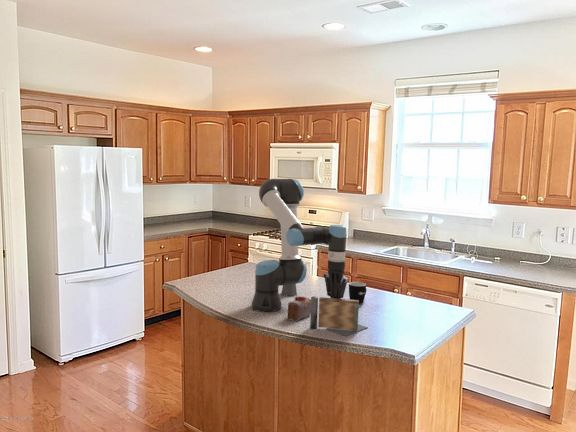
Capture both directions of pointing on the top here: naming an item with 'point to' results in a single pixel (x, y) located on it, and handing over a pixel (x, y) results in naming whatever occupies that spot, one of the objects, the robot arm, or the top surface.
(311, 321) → the gate post
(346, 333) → the mat
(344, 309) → the gate
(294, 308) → the food item
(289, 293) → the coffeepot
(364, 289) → the mug
